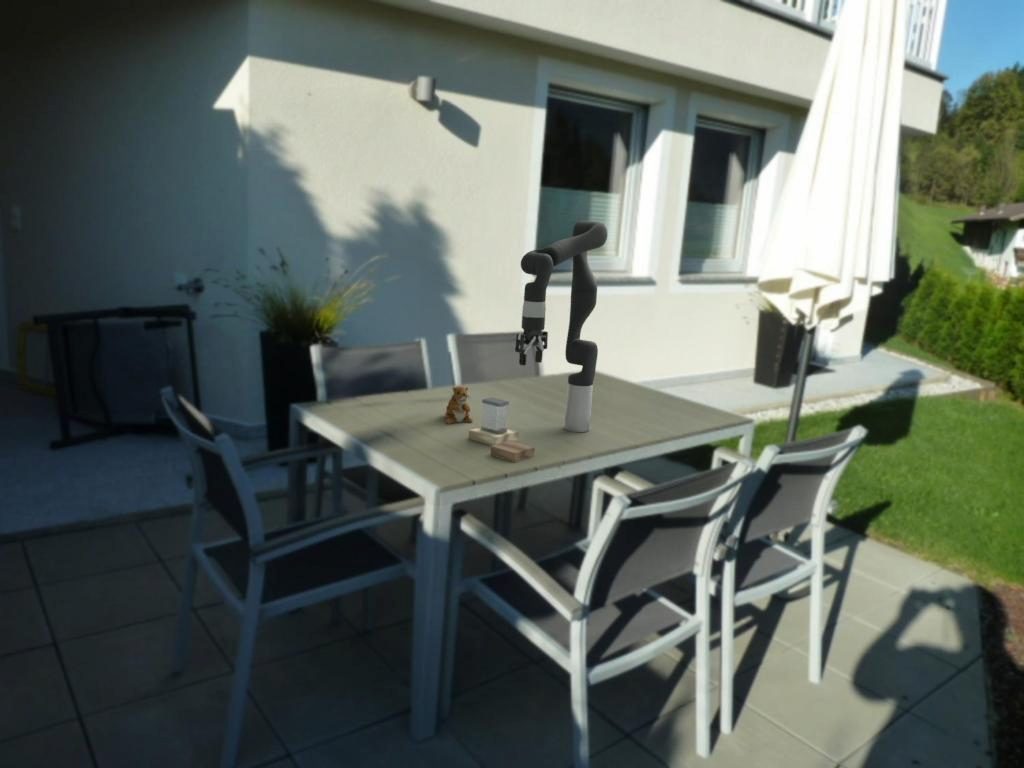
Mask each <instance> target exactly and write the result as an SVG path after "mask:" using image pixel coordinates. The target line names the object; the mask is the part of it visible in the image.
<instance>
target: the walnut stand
mask: <svg viewBox="0 0 1024 768" xmlns="http://www.w3.org/2000/svg"><path fill="white" fill-rule="evenodd" d="M535 448H536V447H535V446H532V445H529V444H525V443H521V442H518V441H512V440H510V441H506V442H503V443H499V444H496V445H493V446H492V445H490V456H492V455H493V457H496V458H499V459H502V458H503V459H502V460H505V459H506V461H508V460H510V461H509V462H512V461H513V462H512V463H517V462H521V461H523V460H526V459H529V458H533V457H534V456H535Z"/></svg>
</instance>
